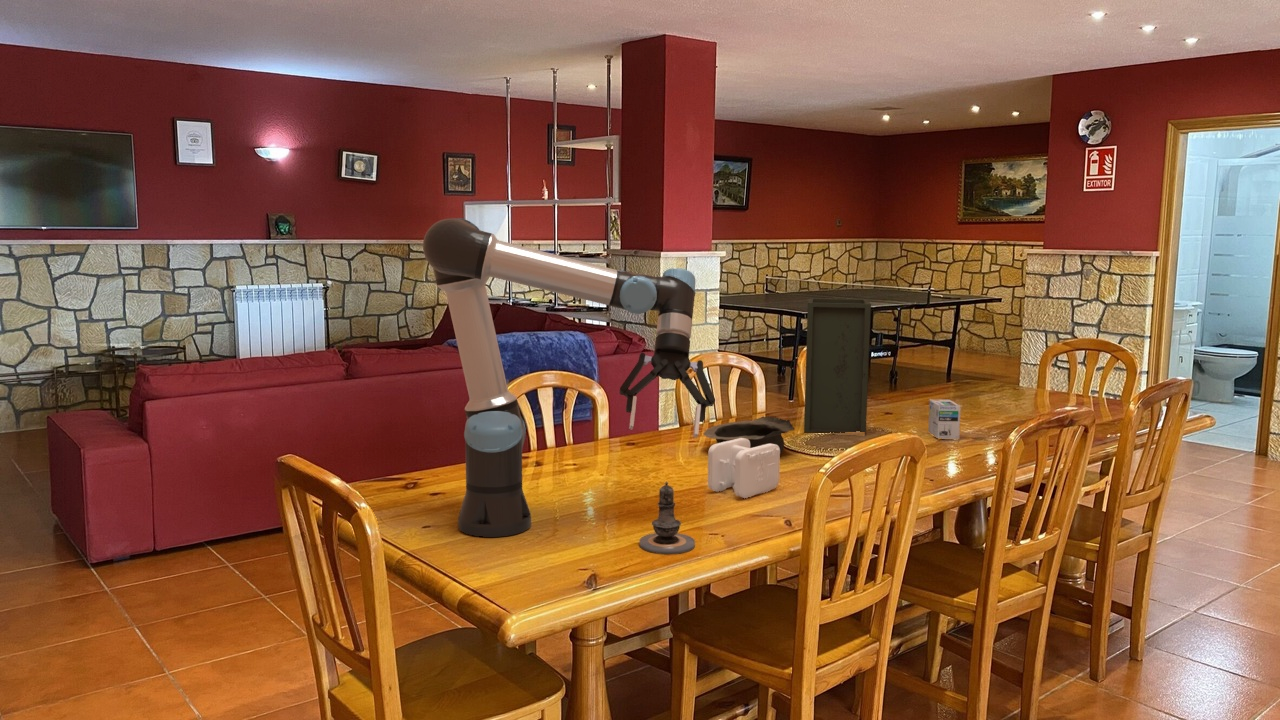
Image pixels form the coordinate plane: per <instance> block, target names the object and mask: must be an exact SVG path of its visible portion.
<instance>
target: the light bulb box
mask: <svg viewBox="0 0 1280 720" xmlns="http://www.w3.org/2000/svg"><path fill="white" fill-rule="evenodd" d="M928 403H929V404H928V405H929V406H928V407H929V409H928V429H927V431H929V432H930V433H931V434H933V435H934V436H935V437H936V438H942V439H959V440H960V434H961V433H960V432H961V430H960V428H961V411H962V410H961V409H962V406H961V405H960V404H958V403H956V402H955V401H953V400H951V399H943V398H942V399H940V398H939V399H935V398H934V399H933V398H929V402H928Z"/></svg>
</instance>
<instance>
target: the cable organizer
mask: <svg viewBox="0 0 1280 720" xmlns="http://www.w3.org/2000/svg"><path fill="white" fill-rule="evenodd" d="M780 456H781V453H780V448H779V446H778V445H775V444H770V443H769V444H765V445H761V446H757V447H753V448H750V441H749V440H748V439H745V438H738V439H734V440H730V441H726V442H721V443H717V442H716V443H714V444H711V446H710V447H709V449H708V451H707V487H708V488H709V490H712V491H714V492H715V493H719V491H720V492H722V491H725V490H726V489H727V488H731V487H732V489H733V492H734V495H736V496H737V497H740V498H741V499H743V498H744V500H746V499H749V498H748V497H750V498H752V497H751V496H753V497H754V496H755V495H759V494H762V493H763V494H766V493H769V492H771V490H774V489H776V488H777V487H778V485H779V481H780V458H781V457H780ZM768 491H769V492H768ZM765 492H766V493H765ZM745 498H746V499H745Z"/></svg>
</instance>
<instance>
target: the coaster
mask: <svg viewBox="0 0 1280 720" xmlns="http://www.w3.org/2000/svg"><path fill="white" fill-rule="evenodd" d="M656 536H658V535H657V534H656V533H655V532H653V533H648V534H645V535H644V536H642V537H640V539H639V548H640V549H642V550H644V551H646V552H647V553H653V554H657V555H678V554H684V553H688V552H690V551H692V550H694V549H695V546H696V541H695V539H694V538H693V537H691V536H689V535H687V534H683V533H680V532H679V533H677V534H676V535H674V536H676V537H678V538H679V539H680V541H679V542H678V543H676V544H671V545H662V544H657V543H655V542H654V541H653V539H654V538H655V537H656Z"/></svg>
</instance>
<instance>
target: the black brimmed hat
mask: <svg viewBox="0 0 1280 720" xmlns="http://www.w3.org/2000/svg"><path fill="white" fill-rule="evenodd" d="M794 430H796V429H795V427H794V425H793V424H792V422H791V421H790V419H782V418H779V417H776V416H760V417H759V418H754V419H753V420H741V421H740V420H739V421H732V422H725V423H723V424H717V425H713V426H710V427H708V428H706V429H705V430H704V432H703V436H705V437H706V438H709V439H710V440H715V441H716V444H717V443H721V442H726V441H730V440H734V439H738V438H745V439H748V440H749V441H750V448H753V447H757V446H761V445H765V444H769V443H770V444H775V445H778V446H779V448H780V454H782V453H783V452H784V449H785V442H784V437H783V436H782V434H786V433H788V432H790V431H794Z"/></svg>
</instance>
